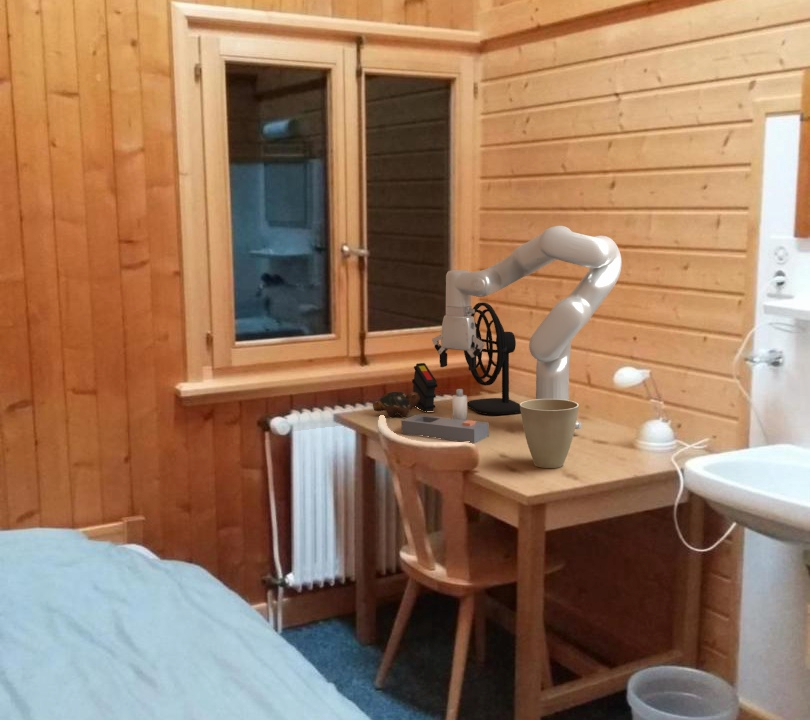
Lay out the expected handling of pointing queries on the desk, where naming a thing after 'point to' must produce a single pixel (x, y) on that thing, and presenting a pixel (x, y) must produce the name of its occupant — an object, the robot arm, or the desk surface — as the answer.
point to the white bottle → (459, 405)
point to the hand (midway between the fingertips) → (457, 368)
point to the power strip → (445, 428)
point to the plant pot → (549, 429)
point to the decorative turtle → (397, 403)
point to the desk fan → (504, 347)
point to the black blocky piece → (424, 387)
